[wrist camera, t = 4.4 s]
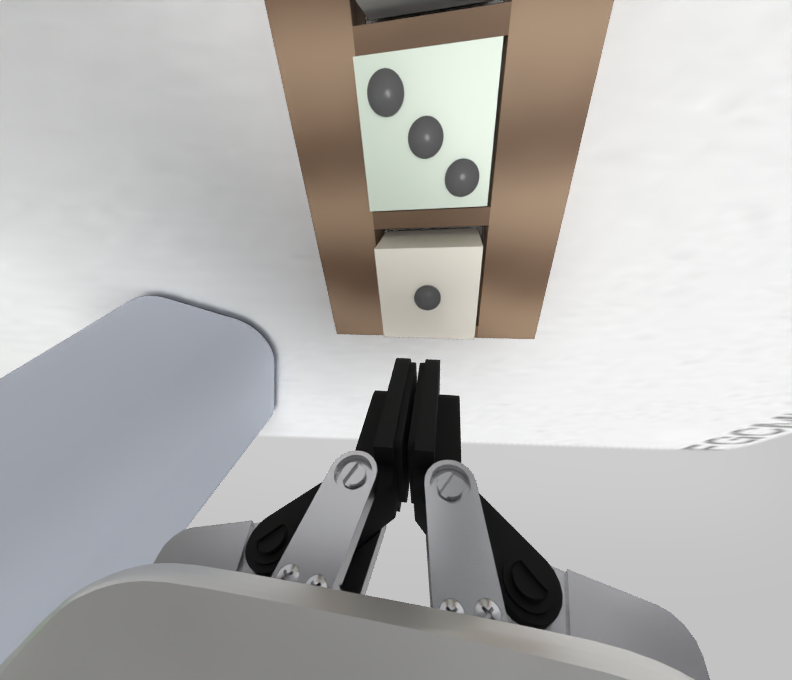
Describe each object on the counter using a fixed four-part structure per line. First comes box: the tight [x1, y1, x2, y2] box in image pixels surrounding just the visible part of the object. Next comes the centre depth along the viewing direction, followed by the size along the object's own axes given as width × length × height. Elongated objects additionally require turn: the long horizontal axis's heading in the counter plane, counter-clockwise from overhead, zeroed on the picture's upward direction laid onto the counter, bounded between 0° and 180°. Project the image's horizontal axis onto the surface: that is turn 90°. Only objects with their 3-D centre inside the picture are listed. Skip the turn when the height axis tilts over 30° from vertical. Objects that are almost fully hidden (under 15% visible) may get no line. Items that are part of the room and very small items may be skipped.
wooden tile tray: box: [264, 0, 614, 339], centre depth 17 cm, size 25×15×3 cm, turn 4°
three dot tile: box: [353, 36, 503, 211], centre depth 15 cm, size 6×6×4 cm
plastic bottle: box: [0, 296, 274, 665], centre depth 21 cm, size 15×15×28 cm
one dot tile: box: [374, 228, 483, 339], centre depth 19 cm, size 6×6×4 cm
